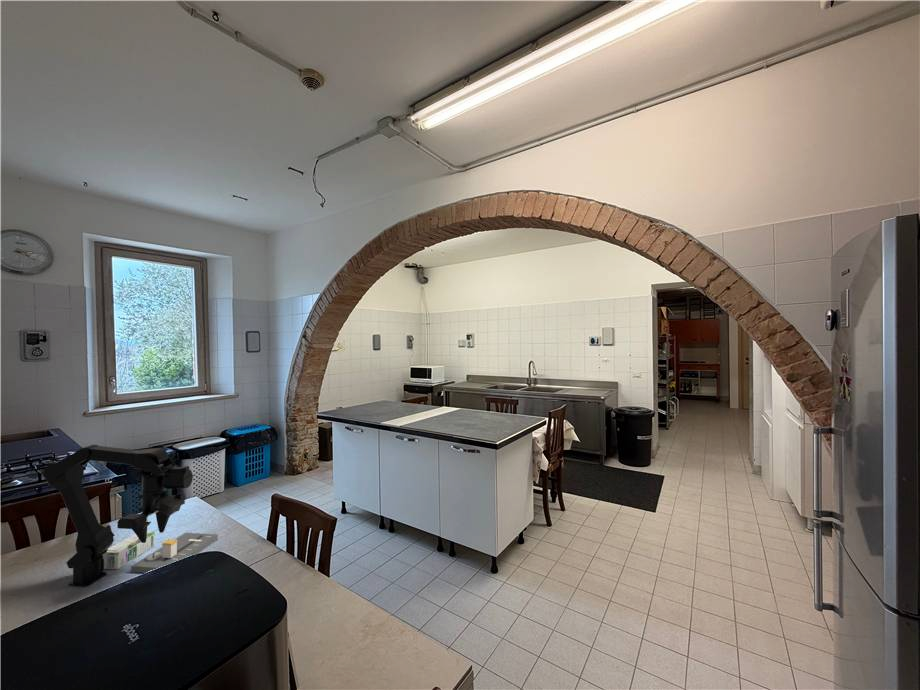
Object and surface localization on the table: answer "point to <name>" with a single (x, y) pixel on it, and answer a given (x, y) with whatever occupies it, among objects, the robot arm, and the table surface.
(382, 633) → the table surface
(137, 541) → the syrup box
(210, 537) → the console
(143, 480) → the robot arm
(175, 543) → the fader
